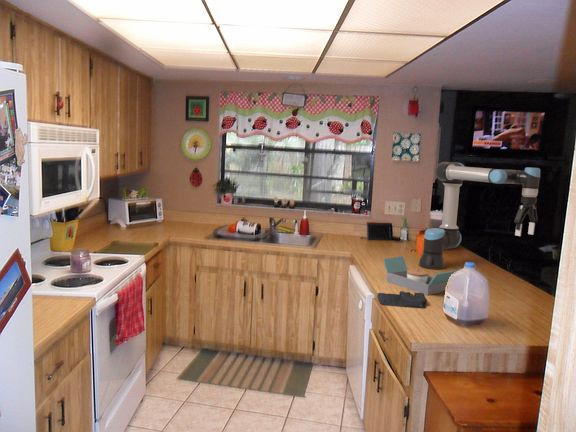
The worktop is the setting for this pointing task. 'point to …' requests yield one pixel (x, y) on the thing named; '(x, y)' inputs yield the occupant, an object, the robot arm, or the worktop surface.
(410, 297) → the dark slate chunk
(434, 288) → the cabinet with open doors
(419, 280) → the lidded jar
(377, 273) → the worktop surface
